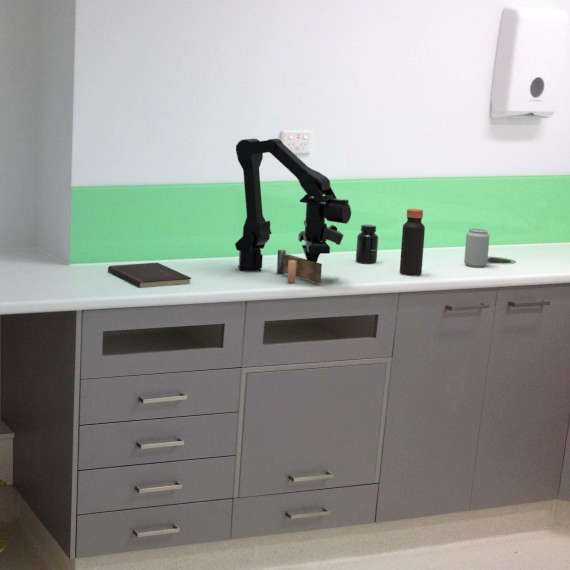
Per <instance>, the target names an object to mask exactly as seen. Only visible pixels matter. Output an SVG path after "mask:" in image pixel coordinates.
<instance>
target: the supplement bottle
mask: <svg viewBox="0 0 570 570" xmlns="http://www.w3.org/2000/svg"><path fill="white" fill-rule="evenodd" d="M376 232H377V226H376V225H373V224H361V227H360V232H359V233H358V234H357V237H356V250H355V251H356V252H355V261H356V262H357V263H359V264H367V265H369V264H370V265H373V264H376V263H377V259H378V247H379V236H378V234H376Z"/></svg>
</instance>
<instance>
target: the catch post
mask: <svg viewBox="0 0 570 570" xmlns="http://www.w3.org/2000/svg"><path fill="white" fill-rule="evenodd" d="M296 265H297V261H296V260H288V274H287V284H292V285H293V284H297V283H296V282H297V277H296Z"/></svg>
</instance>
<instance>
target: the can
mask: <svg viewBox="0 0 570 570" xmlns="http://www.w3.org/2000/svg"><path fill="white" fill-rule="evenodd" d="M488 232H489V230H488V229H484V228H469V229H468V232H466V236H465V237H466V238H465V248H464V249H465V250H464V258H463V259H464V260H463V261H464V262H463V263H464V264H465V266H467V267H470V268H484V267H485V266H487V265H488V260H489V250H490V248H489V247H490V238H491V237H490V236H491V235H490V234H489V233H488Z"/></svg>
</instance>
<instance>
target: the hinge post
mask: <svg viewBox="0 0 570 570" xmlns="http://www.w3.org/2000/svg"><path fill="white" fill-rule="evenodd" d="M283 254H287V250H286V249H278V250H277V264H276V265H277V266H276V274H277V275H278V274H279V275H285V274H286V273H283V258H282V256H283Z"/></svg>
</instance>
